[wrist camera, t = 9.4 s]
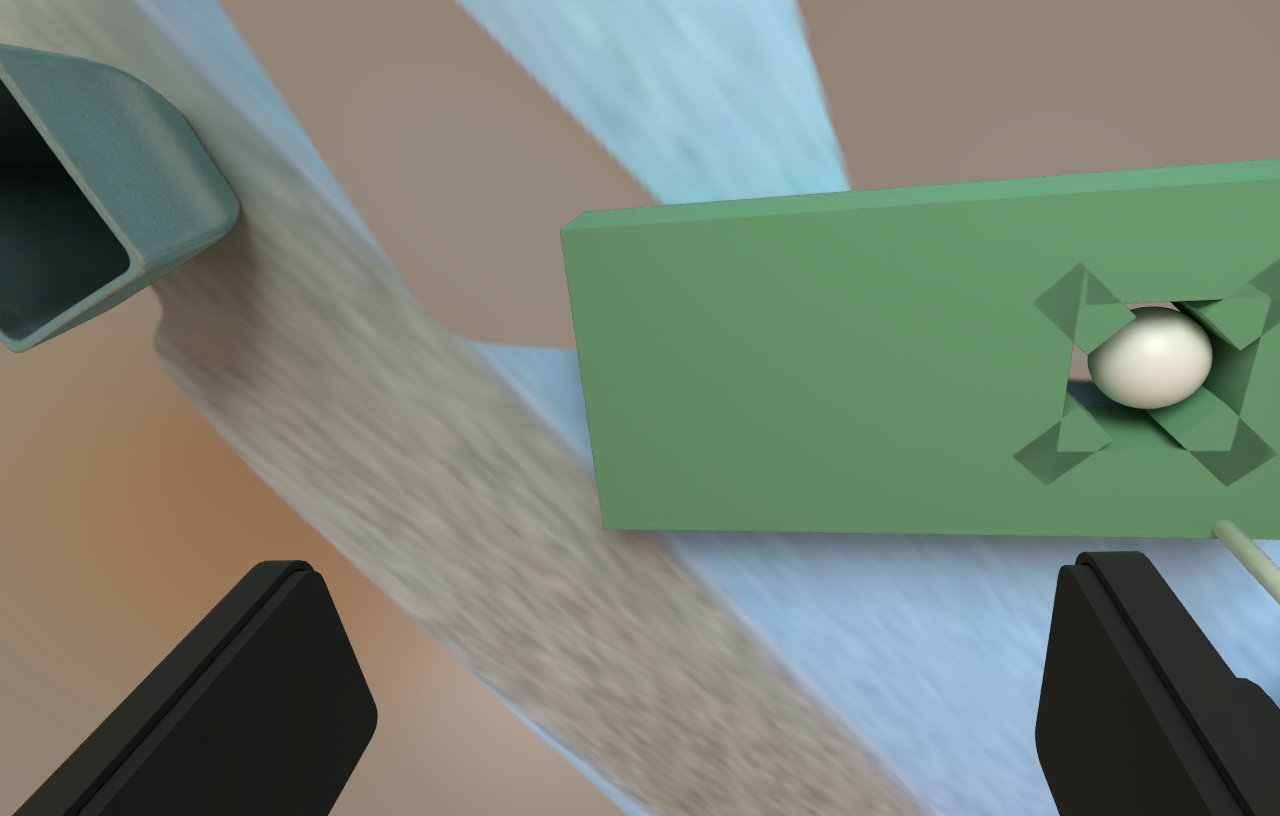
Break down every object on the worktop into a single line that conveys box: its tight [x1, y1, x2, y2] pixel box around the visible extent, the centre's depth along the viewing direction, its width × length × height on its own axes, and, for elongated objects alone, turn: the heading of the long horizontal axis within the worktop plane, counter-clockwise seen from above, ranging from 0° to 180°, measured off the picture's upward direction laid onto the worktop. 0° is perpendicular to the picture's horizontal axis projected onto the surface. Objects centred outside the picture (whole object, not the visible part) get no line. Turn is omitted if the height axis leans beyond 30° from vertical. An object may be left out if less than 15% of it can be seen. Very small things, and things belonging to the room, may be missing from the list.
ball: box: [1088, 307, 1212, 409], centre depth 28 cm, size 4×4×4 cm
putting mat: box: [560, 158, 1280, 605], centre depth 24 cm, size 14×28×18 cm, turn 96°
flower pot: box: [0, 44, 240, 353], centre depth 31 cm, size 9×9×9 cm
